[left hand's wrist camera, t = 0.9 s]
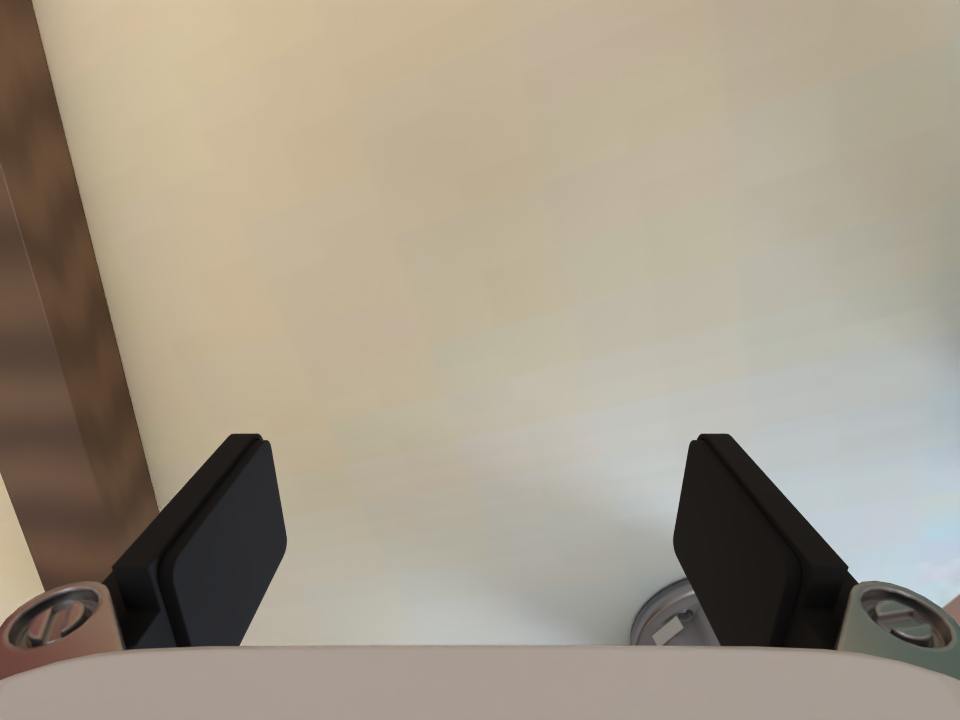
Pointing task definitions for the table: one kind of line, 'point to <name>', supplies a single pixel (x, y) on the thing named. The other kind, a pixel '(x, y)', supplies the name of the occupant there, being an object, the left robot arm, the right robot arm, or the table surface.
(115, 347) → the beam
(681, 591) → the right robot arm
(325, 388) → the table surface
